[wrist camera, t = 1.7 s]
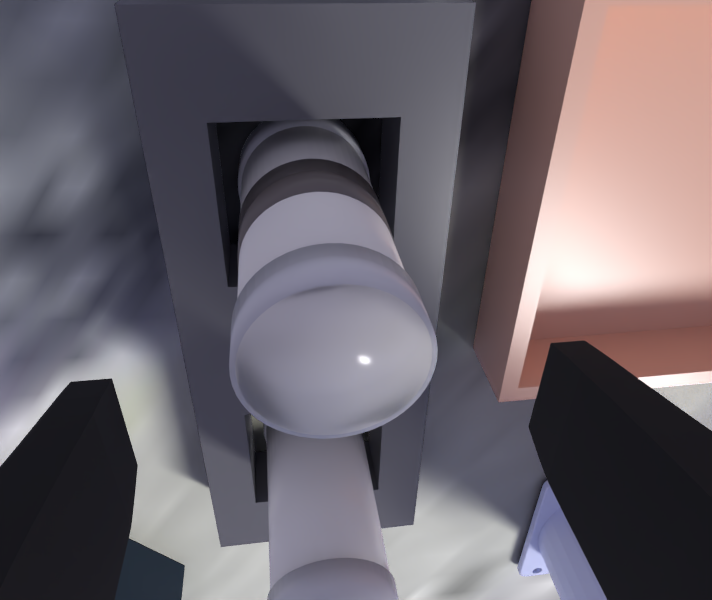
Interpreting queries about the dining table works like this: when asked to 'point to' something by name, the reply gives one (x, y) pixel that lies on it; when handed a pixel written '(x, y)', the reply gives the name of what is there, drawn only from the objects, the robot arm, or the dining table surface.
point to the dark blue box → (149, 575)
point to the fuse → (323, 521)
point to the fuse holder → (278, 103)
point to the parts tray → (605, 196)
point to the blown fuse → (321, 289)
